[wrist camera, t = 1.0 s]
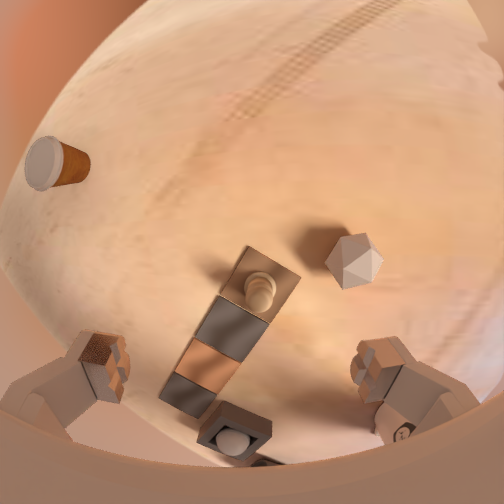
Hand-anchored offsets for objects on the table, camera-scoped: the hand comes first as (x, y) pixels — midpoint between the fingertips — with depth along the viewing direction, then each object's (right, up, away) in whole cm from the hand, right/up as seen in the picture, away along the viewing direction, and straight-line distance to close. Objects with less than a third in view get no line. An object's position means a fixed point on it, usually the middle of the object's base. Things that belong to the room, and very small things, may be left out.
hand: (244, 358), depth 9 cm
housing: (-4, -36, +44) cm, 57 cm away
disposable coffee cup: (-34, +20, +36) cm, 53 cm away
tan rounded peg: (+2, -2, +37) cm, 37 cm away
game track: (-6, -15, +40) cm, 43 cm away
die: (+16, +3, +36) cm, 40 cm away
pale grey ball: (-4, -36, +42) cm, 56 cm away
